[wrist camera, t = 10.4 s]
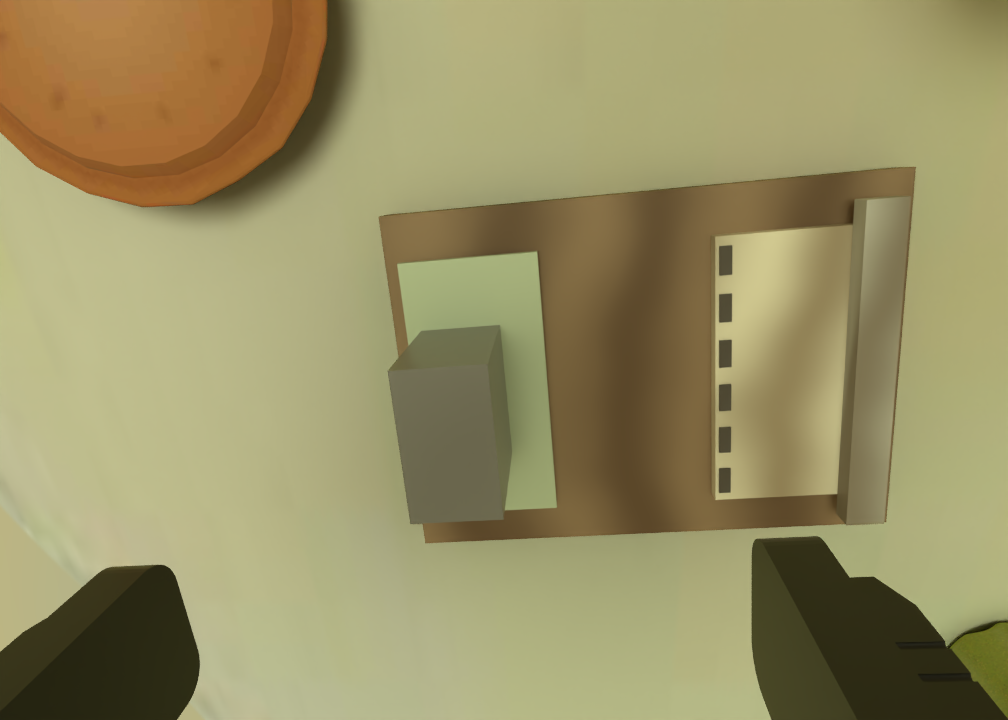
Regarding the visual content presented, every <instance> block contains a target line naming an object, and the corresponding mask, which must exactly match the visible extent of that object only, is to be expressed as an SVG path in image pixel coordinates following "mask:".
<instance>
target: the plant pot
mask: <svg viewBox="0 0 1008 720" xmlns="http://www.w3.org/2000/svg"><path fill="white" fill-rule="evenodd" d="M949 649H952V650H953V652H954V653H955V654H956V655H957V657H958V658H959V659H960V660H961V661H962V663H963V664H964V665H965V666H966V668H967V669H968V670H969V671H970V673H971V678H972V680H973V681H978V682H979V684H980V685H981V686H982V687H983V689H984V690H985V691H986V692H987V694H988V695H989V696H990V697H991V698H992V700H993V701H994V702H995V703H996V705H997V706H998V707H999V708H1000V710H1001V711H1002V712H1003V713H1004V714H1005V716H1006V717H1007V718H1008V622H1003V623H997V624H995V625H994V626H993V627H991V628H990V629H988V630H985V631H982V632H977V633H970V634H966V635H964V636H963V637H961V638H960V639H959V640H957V641H956V642H955V643H954V644H953V645H952V646H951V647H950V648H949Z"/></svg>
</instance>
